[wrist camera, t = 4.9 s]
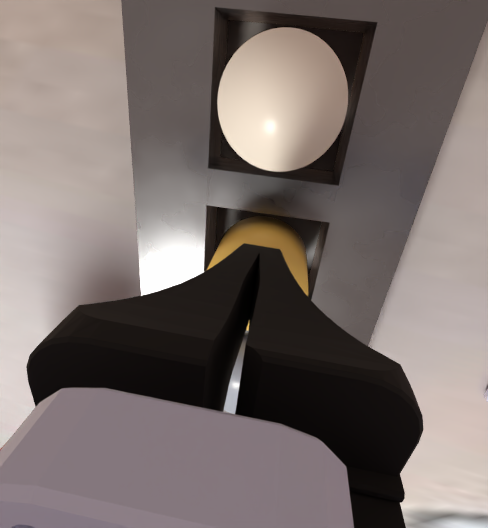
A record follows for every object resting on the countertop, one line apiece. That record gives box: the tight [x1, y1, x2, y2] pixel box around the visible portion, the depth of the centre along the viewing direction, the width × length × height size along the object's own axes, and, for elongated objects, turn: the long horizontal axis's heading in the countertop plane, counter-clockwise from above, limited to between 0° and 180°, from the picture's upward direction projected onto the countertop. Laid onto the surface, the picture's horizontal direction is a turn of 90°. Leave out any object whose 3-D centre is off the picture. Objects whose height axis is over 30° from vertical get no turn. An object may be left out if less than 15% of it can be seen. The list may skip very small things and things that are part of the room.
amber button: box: [207, 216, 308, 331], centre depth 15 cm, size 4×4×3 cm
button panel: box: [121, 0, 488, 414], centre depth 17 cm, size 12×24×2 cm, turn 174°
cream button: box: [217, 27, 348, 172], centre depth 13 cm, size 4×4×3 cm
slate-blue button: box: [224, 336, 248, 414], centre depth 19 cm, size 4×4×3 cm
